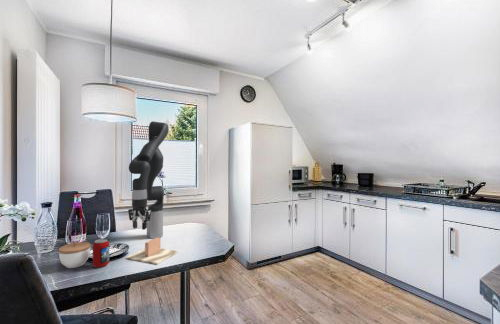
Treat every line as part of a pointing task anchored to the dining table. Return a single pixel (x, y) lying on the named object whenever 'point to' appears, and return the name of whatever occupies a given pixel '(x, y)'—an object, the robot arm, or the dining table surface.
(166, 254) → the striped cloth
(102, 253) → the beverage can
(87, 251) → the lidded bowl
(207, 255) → the dining table surface
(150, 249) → the tile
